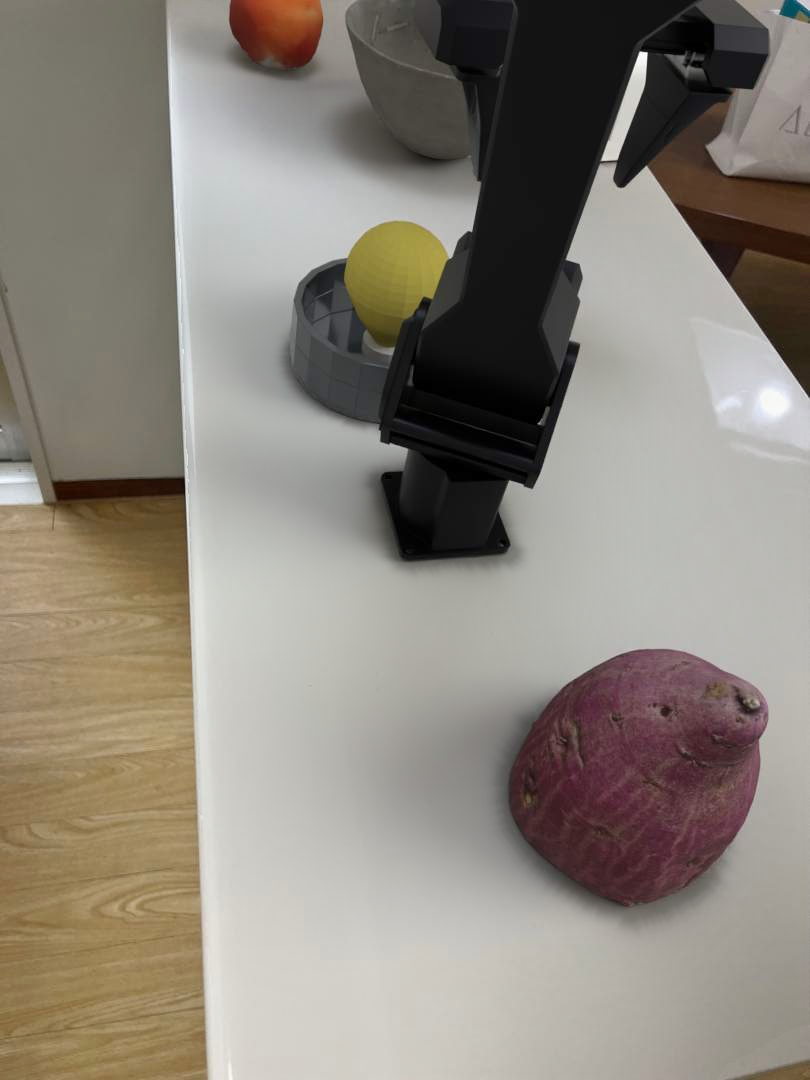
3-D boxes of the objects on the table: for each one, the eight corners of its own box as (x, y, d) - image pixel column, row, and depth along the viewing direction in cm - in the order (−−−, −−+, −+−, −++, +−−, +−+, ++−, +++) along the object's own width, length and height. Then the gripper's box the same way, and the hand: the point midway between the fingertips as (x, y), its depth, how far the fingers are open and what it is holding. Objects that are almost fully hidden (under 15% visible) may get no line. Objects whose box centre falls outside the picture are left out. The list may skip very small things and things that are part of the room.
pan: (485, 421, 58) (501, 367, 54) (304, 426, 55) (310, 369, 51) (440, 311, 65) (453, 257, 62) (279, 310, 62) (282, 254, 59)
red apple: (326, 84, 87) (334, -5, 81) (232, 77, 85) (234, -16, 79) (312, 45, 93) (319, -41, 87) (224, 37, 90) (225, -52, 84)
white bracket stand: (656, 157, 88) (694, 50, 81) (574, 162, 84) (607, 50, 77) (627, 134, 91) (662, 28, 84) (547, 137, 87) (576, 28, 80)
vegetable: (684, 935, 41) (928, 933, 28) (479, 869, 40) (628, 834, 27) (707, 723, 46) (924, 635, 33) (524, 659, 45) (670, 541, 32)
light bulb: (313, 366, 58) (328, 228, 50) (367, 320, 62) (388, 187, 55) (400, 411, 56) (428, 275, 49) (449, 361, 61) (482, 229, 53)
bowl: (455, 90, 91) (477, -18, 83) (570, 181, 82) (606, 69, 74) (296, 108, 82) (304, -10, 75) (404, 212, 73) (426, 88, 66)
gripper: (737, -153, 49) (636, 127, 61) (415, -206, 44) (373, 109, 56) (841, -87, 42) (705, 213, 54) (474, -141, 37) (412, 202, 49)
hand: (549, 181), depth 53 cm, fingers open, 9 cm apart
